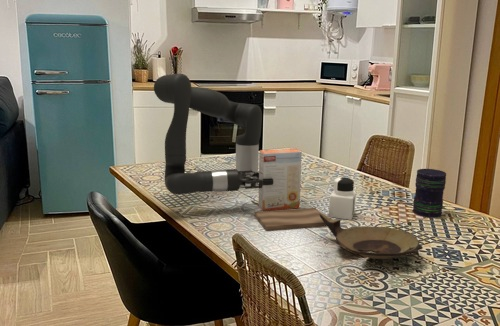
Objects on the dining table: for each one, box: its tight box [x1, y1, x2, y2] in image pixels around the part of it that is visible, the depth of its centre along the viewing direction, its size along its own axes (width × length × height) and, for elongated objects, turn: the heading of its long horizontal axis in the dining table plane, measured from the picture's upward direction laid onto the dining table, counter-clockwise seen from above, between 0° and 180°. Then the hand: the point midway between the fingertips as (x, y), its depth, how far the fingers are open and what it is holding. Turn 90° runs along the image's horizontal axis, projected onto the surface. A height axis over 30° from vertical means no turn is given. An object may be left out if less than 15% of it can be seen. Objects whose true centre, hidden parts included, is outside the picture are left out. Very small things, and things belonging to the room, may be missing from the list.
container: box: [328, 176, 357, 221], centre depth 171 cm, size 8×8×13 cm
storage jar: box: [412, 168, 447, 219], centre depth 175 cm, size 10×10×15 cm
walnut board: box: [253, 207, 327, 232], centre depth 166 cm, size 14×22×2 cm, turn 105°
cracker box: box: [258, 148, 302, 211], centre depth 177 cm, size 14×6×21 cm, turn 105°
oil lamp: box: [320, 212, 424, 260], centre depth 144 cm, size 22×30×8 cm
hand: (269, 178), depth 176 cm, fingers open, 8 cm apart
